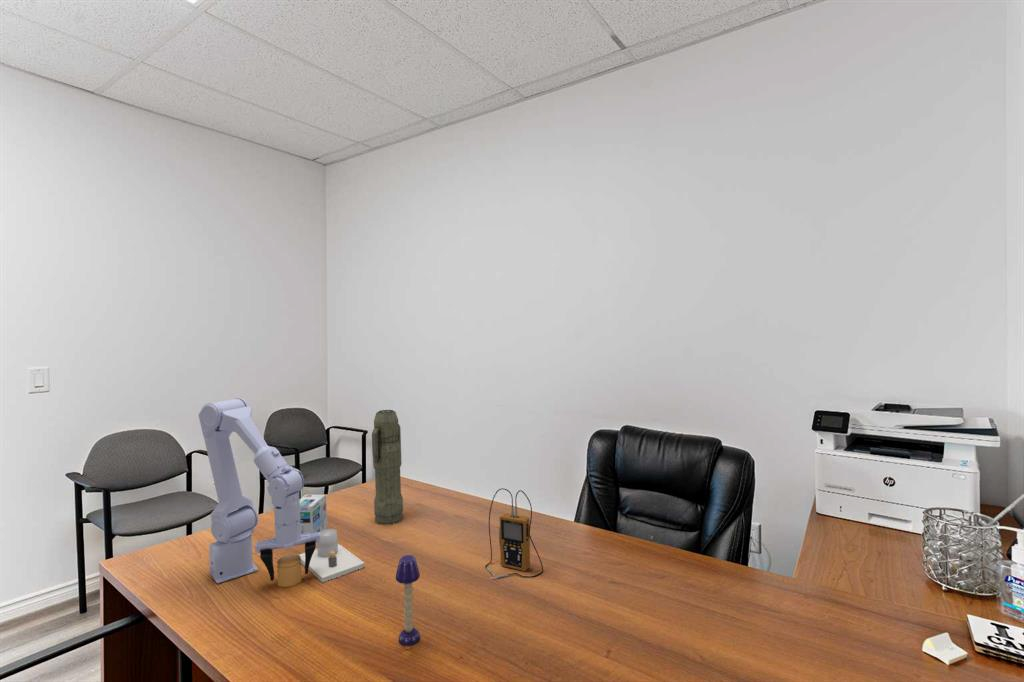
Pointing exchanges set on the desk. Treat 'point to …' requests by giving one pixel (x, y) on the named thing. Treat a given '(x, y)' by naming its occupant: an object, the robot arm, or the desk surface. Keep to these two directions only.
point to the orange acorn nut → (289, 570)
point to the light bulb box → (313, 513)
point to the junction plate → (331, 558)
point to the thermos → (387, 467)
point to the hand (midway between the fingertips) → (289, 575)
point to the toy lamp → (408, 598)
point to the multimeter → (514, 540)
